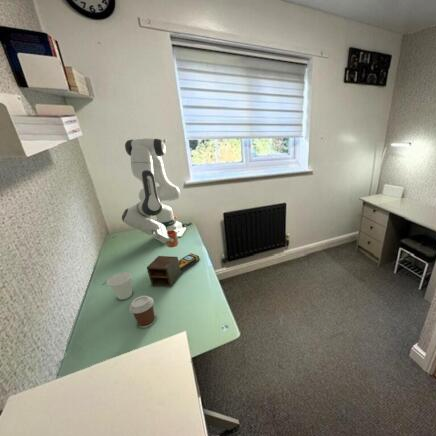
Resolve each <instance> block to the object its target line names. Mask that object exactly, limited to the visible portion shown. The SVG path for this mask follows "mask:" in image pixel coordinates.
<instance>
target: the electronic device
mask: <svg viewBox="0 0 436 436" xmlns="http://www.w3.org/2000/svg"><path fill="white" fill-rule="evenodd" d="M178 261H179V266H180V271H181V272H183V271H184V270H186V269H187V268H189V267H191V266H192V265H193V264H195V263H196V262H198V261H200V256H199V255H198V254H194V253H191V252H190V253H189V254H187V255H185V256H184V257H182V258H180V259H178Z"/></svg>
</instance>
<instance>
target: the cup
mask: <svg viewBox="0 0 436 436" xmlns="http://www.w3.org/2000/svg"><path fill="white" fill-rule="evenodd" d="M106 283H107V284H108V286H109V287H110V288H111V290H112V291H113V293H114V295H115V296H116V298H117V299H118V300H127V299H129V298H131V297H132V295H133V285H132V284H133V283H132V274H131V273H130V272H125V271H124V272H119V273H116V274H114V275H112V276H111V277H109V278H108V279H107V282H106Z"/></svg>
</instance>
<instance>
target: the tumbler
mask: <svg viewBox="0 0 436 436" xmlns="http://www.w3.org/2000/svg"><path fill="white" fill-rule="evenodd" d="M167 234H168V237H169V238H173V239H174V241H173V242H171V241H167V242H166V243H165V244H166V247H167V248H175V247H177V246H178V245H179V241H178V240H179V239H178V238H177V235H176V231H174V230H169V231H167Z"/></svg>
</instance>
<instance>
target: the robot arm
mask: <svg viewBox="0 0 436 436" xmlns="http://www.w3.org/2000/svg"><path fill="white" fill-rule="evenodd" d="M124 148H125V152H126V154H127V155H128V156H130V168H131V173H132V175H133V176H134V177H135V178H136V179H138V180H139V181H140V182H141V184H142V187H143V188H142V189H140V190H139V192H138V198H139V200H140V201H139V202H136V204H135V205H133V206H131V207H128V208H126V209H124V211H123V213H122V215H121V221H122V222H123V223H125V224H126V225H128V226H129V227H131V228H133V229H136V230H139V231H141V233H144V234H146V235H148V236H152V235H153V238H154V239H156V240H158V241H159V242H161V243H163V244H166V242H167V241H171V242H173V241H174V239H173V238H169V237H168V234H167V231H169V230H174V231H176V235H177V239H178V238H181V237H183V235H184V233H185V232H186V230H187V227H186V226H190V225H191V224H192V222H189V223H183V222H180V221H178V220H177V219H178V216H177V215H174V212H173V208H172V207H170V206H169V205H165V204H164V203H165V202H172V201H175V200H179V198H180V197H181V190H180V188H179V187H178V186H176V185H175V184H173V183H172V182H171V181H170V180H169V179H168V177H167V175H166V171H165V166H164V162H163V159H162V157H164V155H165V154H166V144H165V143H164V141H163V140H162V139H160V138H138V139H136V138H135V139H128V140H127V141H125V144H124ZM156 183H157V184H158V185H159V186H157V184H156ZM154 216H155V218H156V219H155V218H151V217H154ZM185 225H186V226H185Z"/></svg>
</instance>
